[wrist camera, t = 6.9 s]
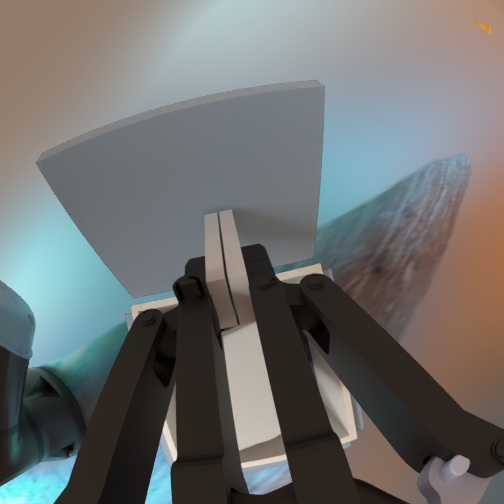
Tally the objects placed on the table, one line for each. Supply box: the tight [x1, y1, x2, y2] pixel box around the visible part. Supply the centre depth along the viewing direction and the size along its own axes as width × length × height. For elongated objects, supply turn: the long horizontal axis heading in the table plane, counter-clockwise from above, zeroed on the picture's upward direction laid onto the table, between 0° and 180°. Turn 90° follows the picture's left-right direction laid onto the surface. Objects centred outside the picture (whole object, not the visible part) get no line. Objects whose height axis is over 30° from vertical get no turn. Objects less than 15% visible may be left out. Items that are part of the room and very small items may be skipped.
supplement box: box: [175, 322, 281, 451], centre depth 26 cm, size 9×9×15 cm
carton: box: [125, 263, 364, 473], centre depth 28 cm, size 17×18×12 cm
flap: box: [36, 80, 325, 298], centre depth 18 cm, size 1×15×14 cm, turn 104°
